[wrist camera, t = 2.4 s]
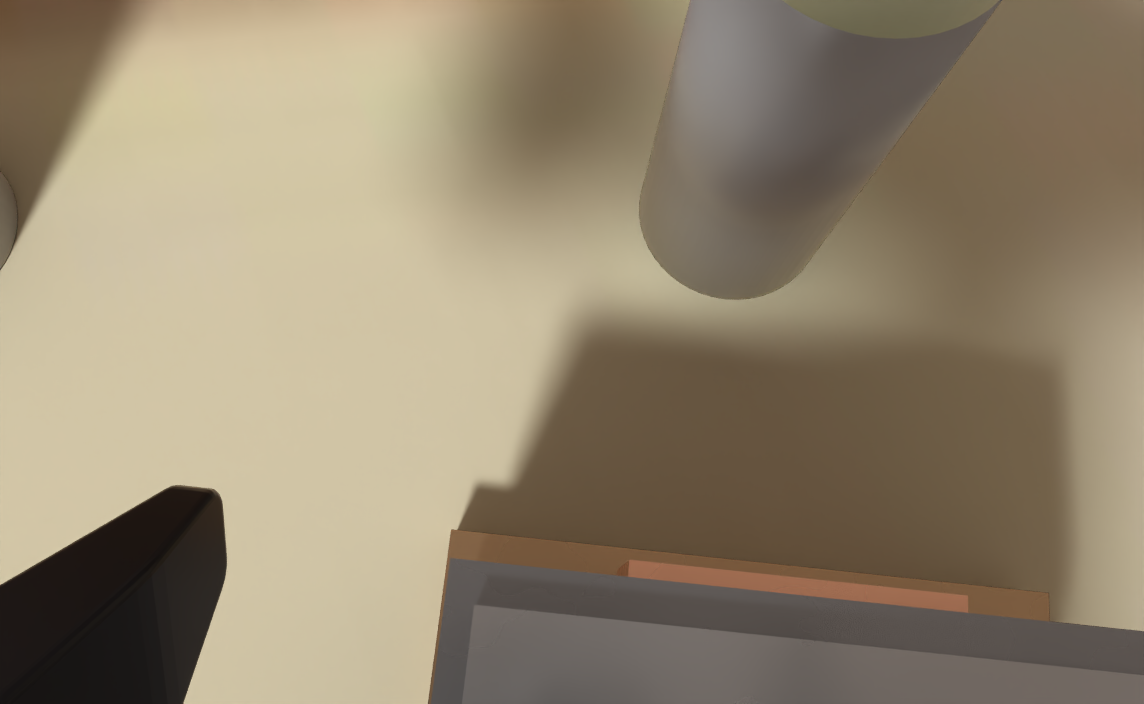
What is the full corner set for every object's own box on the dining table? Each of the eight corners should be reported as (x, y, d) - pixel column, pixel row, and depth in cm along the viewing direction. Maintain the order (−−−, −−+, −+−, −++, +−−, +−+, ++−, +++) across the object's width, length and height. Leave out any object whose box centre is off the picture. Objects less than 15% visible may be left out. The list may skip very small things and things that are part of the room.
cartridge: (854, 196, 25) (1169, -234, 13) (757, 335, 24) (1001, 8, 12) (704, 99, 26) (869, -400, 14) (602, 230, 25) (681, -187, 12)
